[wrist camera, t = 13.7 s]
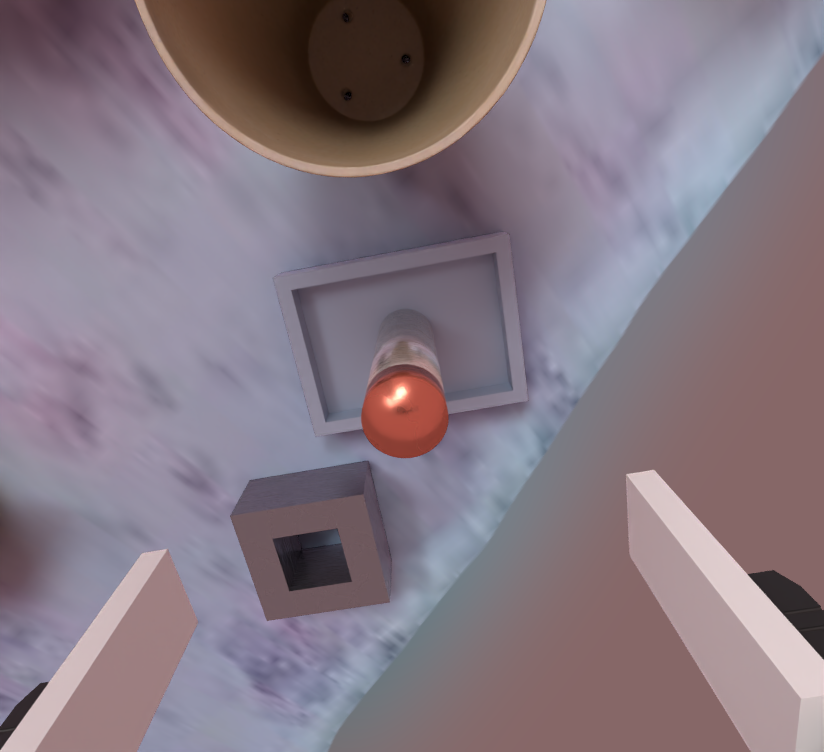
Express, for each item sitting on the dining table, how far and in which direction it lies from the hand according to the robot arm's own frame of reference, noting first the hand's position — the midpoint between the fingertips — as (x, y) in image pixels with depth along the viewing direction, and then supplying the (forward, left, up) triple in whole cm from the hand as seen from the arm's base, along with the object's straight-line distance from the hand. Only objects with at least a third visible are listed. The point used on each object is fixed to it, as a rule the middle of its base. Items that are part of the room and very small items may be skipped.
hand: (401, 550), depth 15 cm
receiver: (-10, -15, -25) cm, 31 cm away
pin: (0, 0, -24) cm, 24 cm away
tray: (0, 0, -25) cm, 25 cm away
